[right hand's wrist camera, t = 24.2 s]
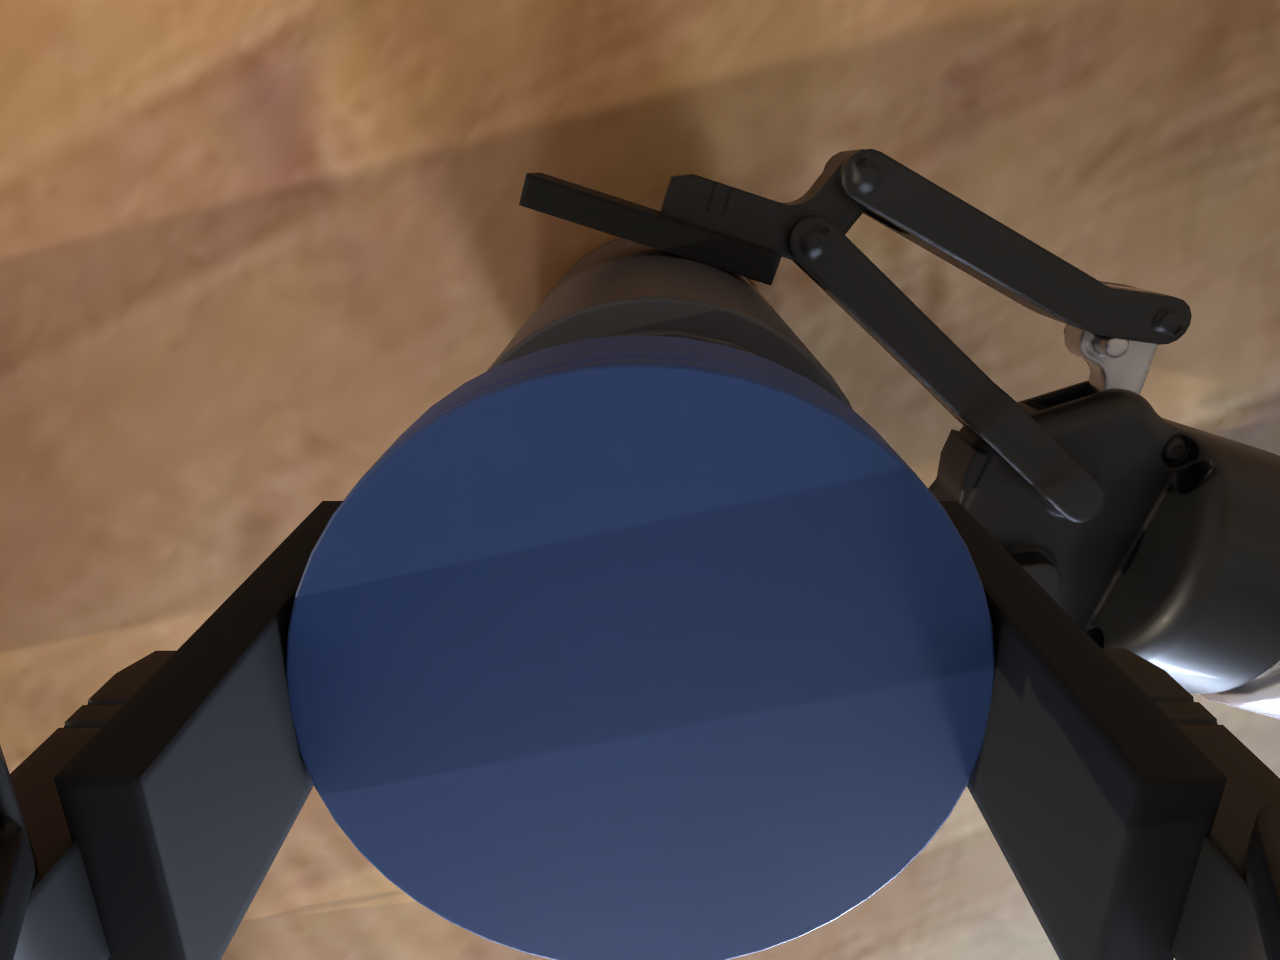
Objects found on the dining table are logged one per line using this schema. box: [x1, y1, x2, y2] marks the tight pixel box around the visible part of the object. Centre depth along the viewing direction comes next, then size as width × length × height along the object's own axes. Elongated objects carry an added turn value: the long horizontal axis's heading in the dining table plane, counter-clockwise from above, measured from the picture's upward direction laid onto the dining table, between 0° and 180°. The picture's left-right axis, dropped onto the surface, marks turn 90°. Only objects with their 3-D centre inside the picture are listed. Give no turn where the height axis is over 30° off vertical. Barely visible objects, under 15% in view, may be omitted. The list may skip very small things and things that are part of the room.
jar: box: [488, 238, 853, 410], centre depth 22 cm, size 8×8×16 cm
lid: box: [286, 335, 995, 960], centre depth 11 cm, size 9×9×2 cm
